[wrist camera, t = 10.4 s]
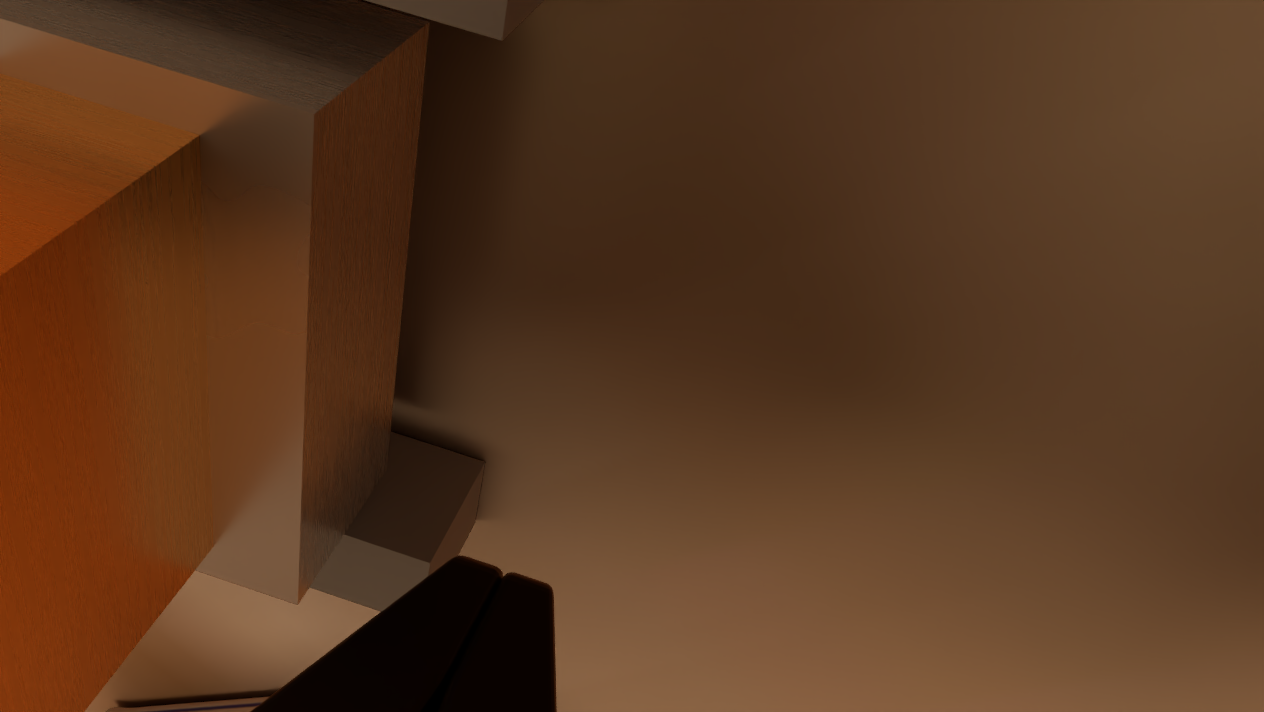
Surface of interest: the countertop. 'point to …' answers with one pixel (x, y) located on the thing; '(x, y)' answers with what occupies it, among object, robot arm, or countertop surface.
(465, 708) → the robot arm
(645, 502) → the countertop surface
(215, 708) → the medicine box
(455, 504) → the press bed
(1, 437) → the ram
